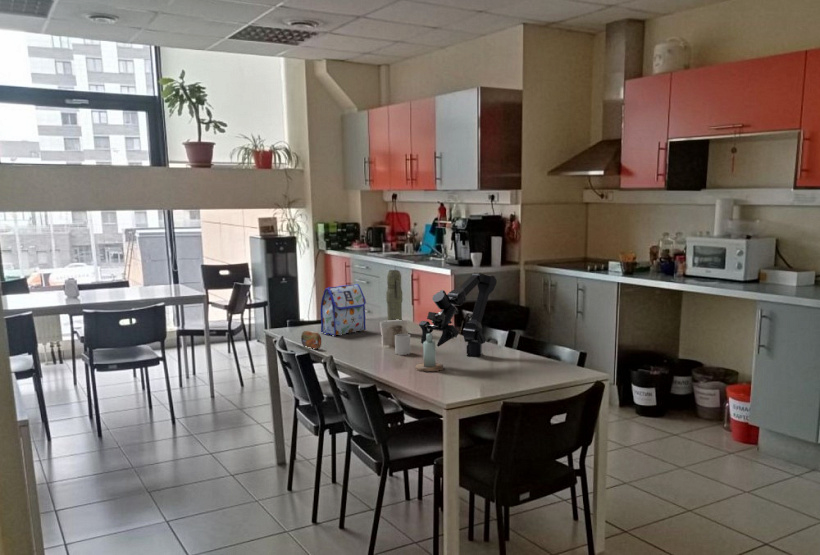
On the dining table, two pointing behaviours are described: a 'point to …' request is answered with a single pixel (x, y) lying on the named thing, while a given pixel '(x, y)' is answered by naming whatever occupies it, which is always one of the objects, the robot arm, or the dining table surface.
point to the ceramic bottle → (429, 351)
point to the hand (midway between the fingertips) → (429, 344)
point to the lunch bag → (343, 310)
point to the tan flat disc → (422, 368)
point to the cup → (402, 344)
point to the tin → (311, 339)
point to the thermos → (394, 295)
